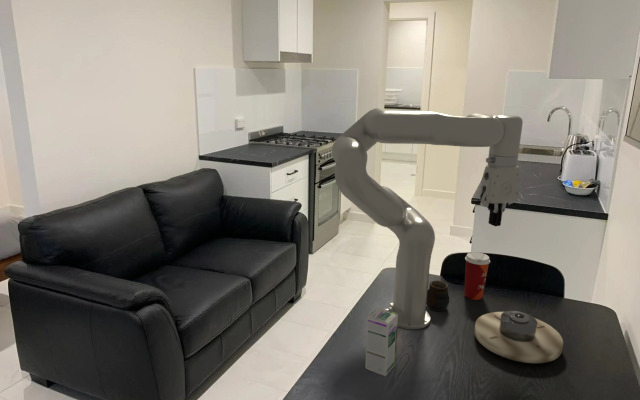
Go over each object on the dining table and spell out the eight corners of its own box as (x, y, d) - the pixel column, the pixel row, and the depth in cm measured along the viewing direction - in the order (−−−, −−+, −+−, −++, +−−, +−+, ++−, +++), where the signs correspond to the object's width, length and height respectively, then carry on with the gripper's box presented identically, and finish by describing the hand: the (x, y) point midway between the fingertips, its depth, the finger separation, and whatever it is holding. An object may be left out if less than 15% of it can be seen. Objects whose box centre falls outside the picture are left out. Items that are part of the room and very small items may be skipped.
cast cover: (514, 344, 123) (517, 326, 122) (492, 326, 132) (494, 309, 130) (542, 338, 126) (545, 321, 125) (518, 321, 134) (521, 305, 133)
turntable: (514, 370, 116) (515, 363, 115) (458, 325, 136) (458, 318, 135) (581, 353, 124) (582, 346, 123) (519, 312, 143) (520, 306, 143)
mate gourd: (440, 300, 153) (443, 271, 150) (453, 312, 146) (457, 282, 143) (420, 303, 151) (423, 274, 148) (433, 315, 144) (436, 285, 141)
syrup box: (386, 377, 115) (389, 323, 111) (364, 368, 118) (366, 316, 114) (395, 365, 120) (399, 313, 116) (374, 357, 123) (377, 306, 119)
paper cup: (487, 302, 152) (492, 261, 148) (462, 299, 154) (466, 259, 150) (484, 291, 160) (488, 252, 156) (460, 289, 161) (464, 250, 157)
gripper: (489, 165, 125) (481, 231, 130) (534, 162, 130) (524, 226, 135) (471, 159, 132) (464, 223, 137) (514, 157, 137) (506, 218, 142)
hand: (494, 224), depth 136 cm, fingers closed
